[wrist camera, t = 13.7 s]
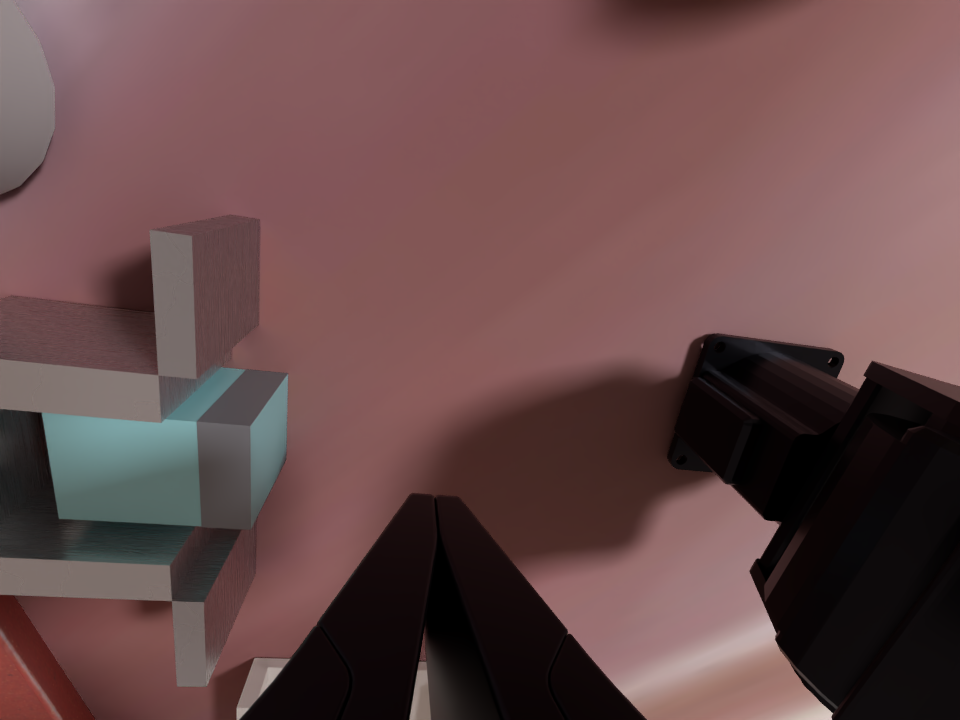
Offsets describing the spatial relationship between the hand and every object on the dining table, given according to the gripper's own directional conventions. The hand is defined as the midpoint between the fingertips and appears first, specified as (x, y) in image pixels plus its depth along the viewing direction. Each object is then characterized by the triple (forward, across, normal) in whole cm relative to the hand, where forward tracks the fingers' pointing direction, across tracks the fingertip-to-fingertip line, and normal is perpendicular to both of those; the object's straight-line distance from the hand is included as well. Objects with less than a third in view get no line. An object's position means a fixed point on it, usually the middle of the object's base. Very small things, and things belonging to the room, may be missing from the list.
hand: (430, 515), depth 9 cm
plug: (+12, +8, +5) cm, 15 cm away
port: (+12, +10, +5) cm, 17 cm away
